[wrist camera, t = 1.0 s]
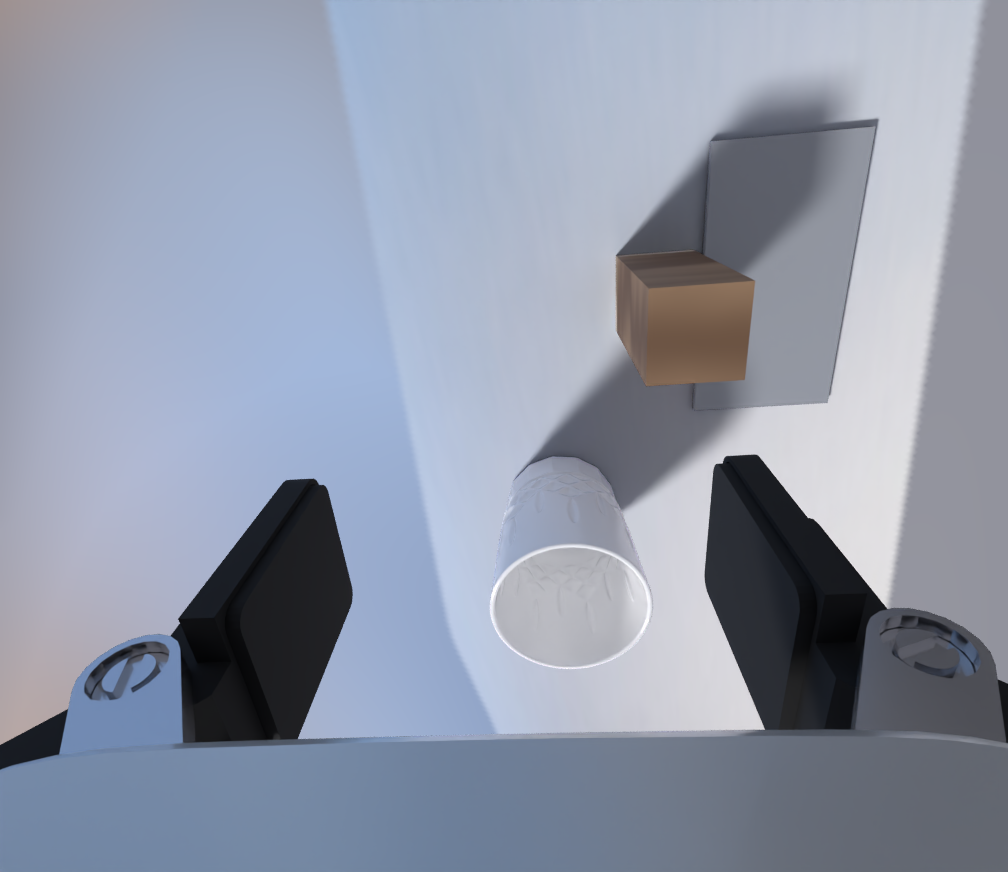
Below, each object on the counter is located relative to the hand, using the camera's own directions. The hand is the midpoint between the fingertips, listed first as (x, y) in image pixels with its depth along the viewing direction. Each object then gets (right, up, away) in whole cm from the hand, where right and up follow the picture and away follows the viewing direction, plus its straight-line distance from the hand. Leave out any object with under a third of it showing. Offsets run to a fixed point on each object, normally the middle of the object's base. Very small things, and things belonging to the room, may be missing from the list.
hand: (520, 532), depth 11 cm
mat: (+14, +10, +19) cm, 25 cm away
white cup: (+3, -2, +25) cm, 26 cm away
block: (+8, +10, +19) cm, 23 cm away
